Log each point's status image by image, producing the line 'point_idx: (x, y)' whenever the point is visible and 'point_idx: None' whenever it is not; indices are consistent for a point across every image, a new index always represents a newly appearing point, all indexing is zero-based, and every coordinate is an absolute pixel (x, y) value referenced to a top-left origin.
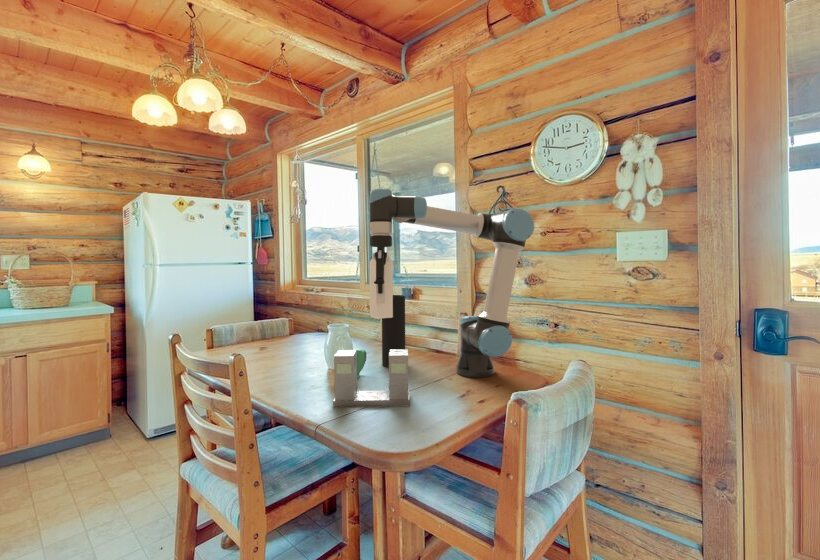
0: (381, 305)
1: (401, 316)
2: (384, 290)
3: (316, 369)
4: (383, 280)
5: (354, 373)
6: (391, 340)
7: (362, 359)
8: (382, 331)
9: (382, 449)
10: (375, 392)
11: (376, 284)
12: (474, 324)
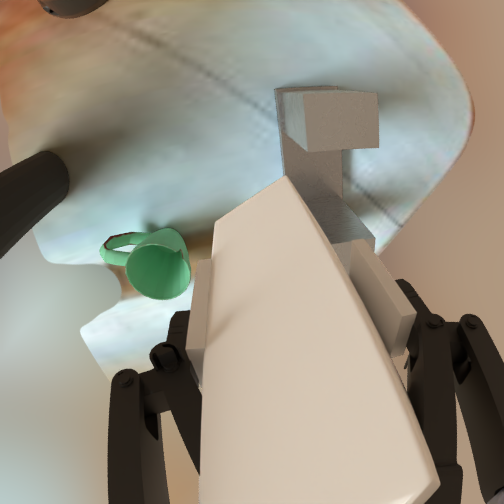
0: (334, 251)
1: None
2: (387, 283)
3: (131, 318)
4: (474, 320)
5: (344, 218)
6: (33, 202)
7: (160, 238)
8: (16, 242)
9: (466, 132)
10: (296, 162)
11: (402, 350)
12: None
